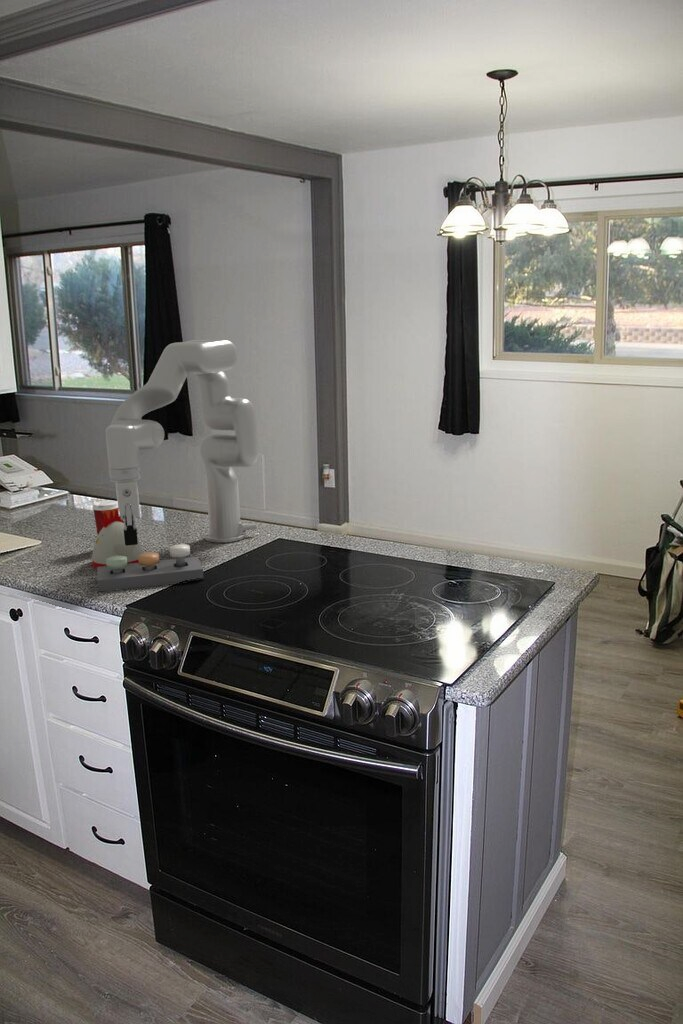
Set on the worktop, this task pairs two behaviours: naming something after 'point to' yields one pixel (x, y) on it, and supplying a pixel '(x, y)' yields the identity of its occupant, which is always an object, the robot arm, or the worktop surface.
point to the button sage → (116, 563)
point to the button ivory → (180, 553)
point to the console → (149, 574)
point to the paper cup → (101, 508)
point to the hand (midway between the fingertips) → (131, 544)
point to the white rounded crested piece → (113, 542)
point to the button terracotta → (148, 560)
